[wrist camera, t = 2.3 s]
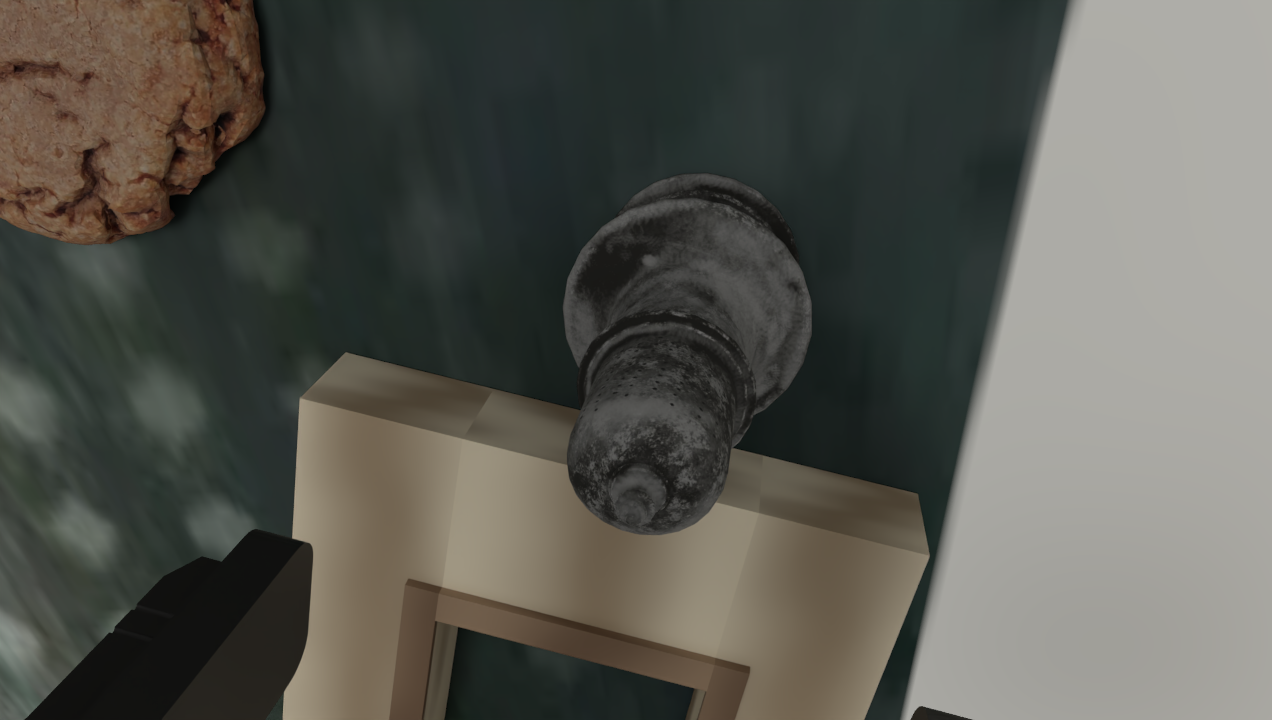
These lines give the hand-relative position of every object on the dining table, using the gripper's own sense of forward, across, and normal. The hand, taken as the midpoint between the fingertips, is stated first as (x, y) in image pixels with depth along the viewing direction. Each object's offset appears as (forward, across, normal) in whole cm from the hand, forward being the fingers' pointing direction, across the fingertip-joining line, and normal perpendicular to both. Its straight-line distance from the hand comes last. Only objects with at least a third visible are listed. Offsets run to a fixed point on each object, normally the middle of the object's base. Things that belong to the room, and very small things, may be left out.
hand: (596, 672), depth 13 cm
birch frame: (+15, +1, +15) cm, 21 cm away
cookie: (+16, +17, -2) cm, 23 cm away
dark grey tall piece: (+16, 0, 0) cm, 16 cm away
